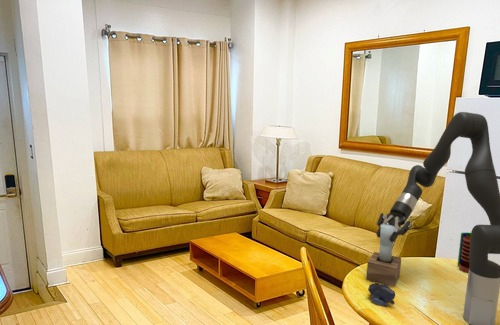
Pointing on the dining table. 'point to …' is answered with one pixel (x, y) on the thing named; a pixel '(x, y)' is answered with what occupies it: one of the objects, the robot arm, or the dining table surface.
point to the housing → (383, 270)
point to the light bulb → (386, 242)
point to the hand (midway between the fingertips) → (384, 238)
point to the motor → (464, 252)
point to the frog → (381, 294)
